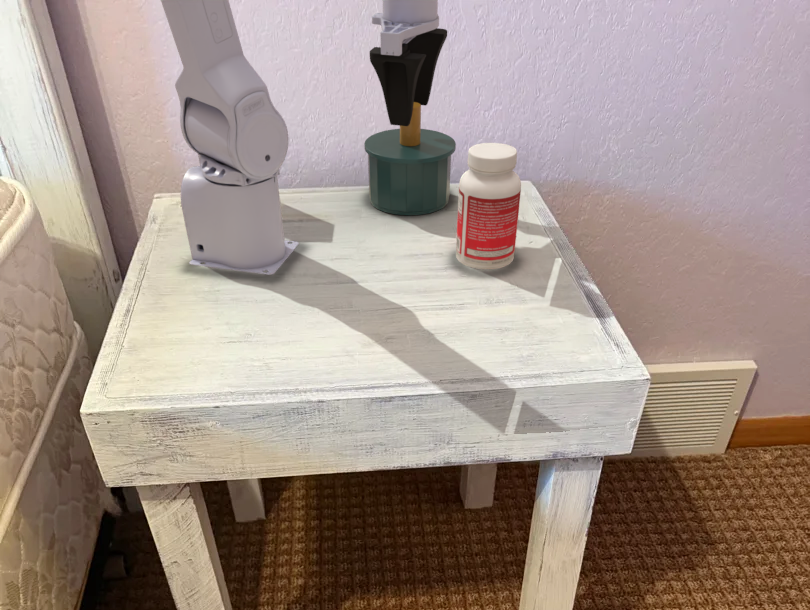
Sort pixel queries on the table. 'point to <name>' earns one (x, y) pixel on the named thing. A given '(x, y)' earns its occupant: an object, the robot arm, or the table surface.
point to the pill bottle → (488, 207)
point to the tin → (409, 186)
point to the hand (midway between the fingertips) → (409, 114)
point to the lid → (410, 143)
